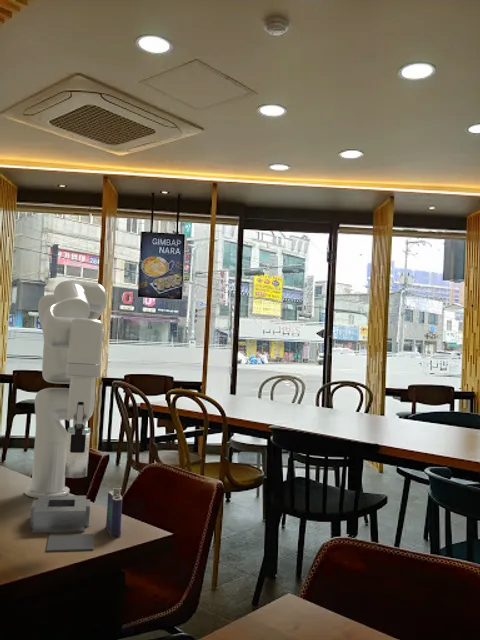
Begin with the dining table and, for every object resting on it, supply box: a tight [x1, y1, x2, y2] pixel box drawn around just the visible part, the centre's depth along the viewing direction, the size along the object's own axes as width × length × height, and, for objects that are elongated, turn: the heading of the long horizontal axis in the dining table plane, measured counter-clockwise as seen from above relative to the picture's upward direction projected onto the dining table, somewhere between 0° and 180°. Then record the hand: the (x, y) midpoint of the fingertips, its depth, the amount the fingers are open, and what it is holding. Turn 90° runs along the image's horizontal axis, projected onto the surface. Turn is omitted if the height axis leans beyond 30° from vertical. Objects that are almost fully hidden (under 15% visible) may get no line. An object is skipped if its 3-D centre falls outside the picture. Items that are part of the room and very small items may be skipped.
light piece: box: [64, 426, 91, 479], centre depth 129 cm, size 5×5×11 cm
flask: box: [105, 487, 123, 539], centre depth 138 cm, size 9×3×11 cm, turn 22°
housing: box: [29, 495, 91, 534], centre depth 142 cm, size 14×14×5 cm
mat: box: [45, 533, 94, 553], centre depth 128 cm, size 10×10×1 cm
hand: (77, 449), depth 129 cm, fingers closed on light piece, 5 cm apart
